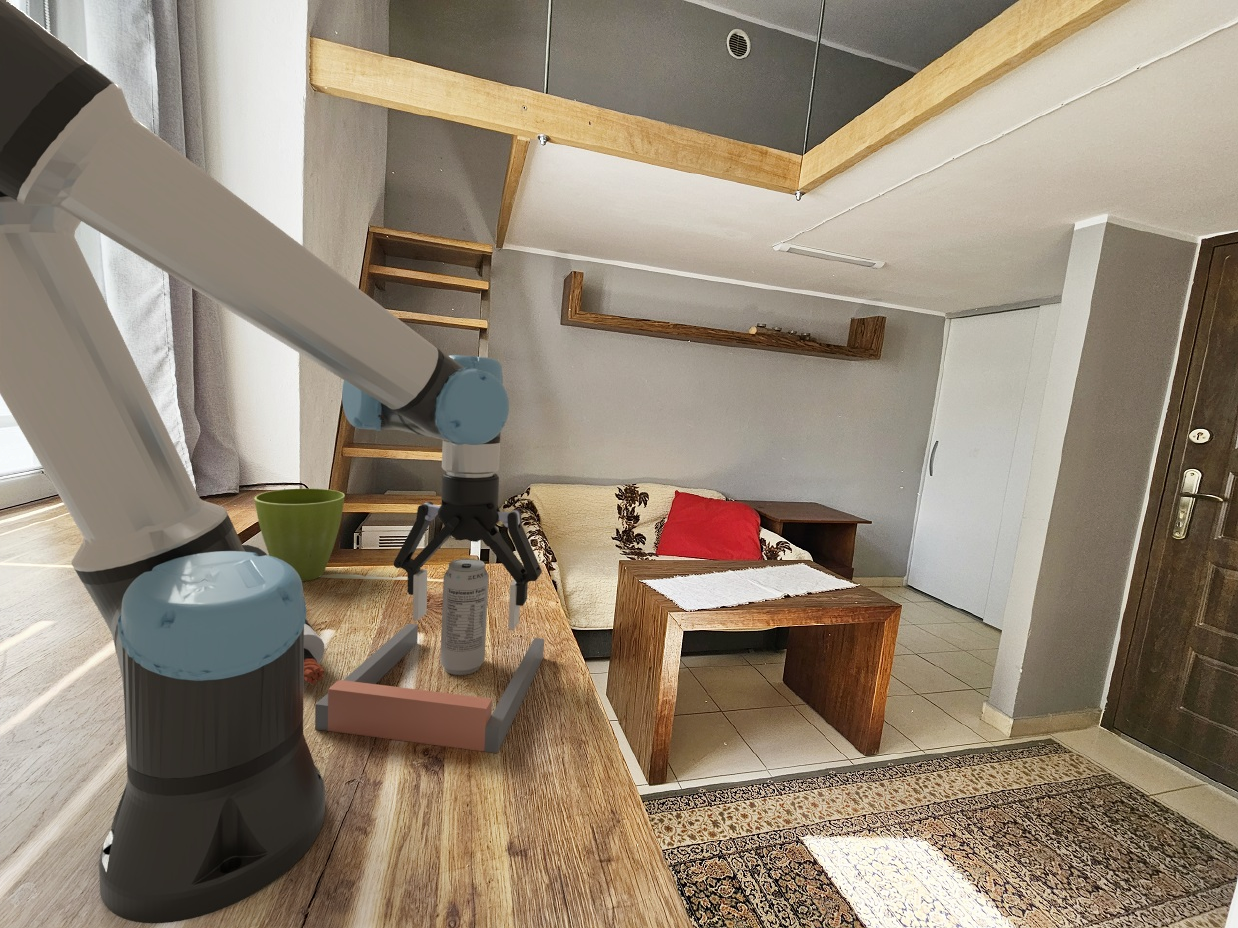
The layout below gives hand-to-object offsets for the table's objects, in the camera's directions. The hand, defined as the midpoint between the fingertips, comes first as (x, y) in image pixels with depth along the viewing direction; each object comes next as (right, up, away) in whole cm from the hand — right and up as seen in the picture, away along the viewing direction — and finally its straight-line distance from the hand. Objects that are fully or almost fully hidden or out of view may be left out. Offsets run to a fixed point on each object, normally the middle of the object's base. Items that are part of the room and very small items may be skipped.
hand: (466, 621), depth 76 cm
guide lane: (-1, -7, -5) cm, 9 cm away
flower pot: (-41, 0, +30) cm, 50 cm away
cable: (-29, -4, +3) cm, 30 cm away
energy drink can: (-1, -7, +1) cm, 7 cm away
